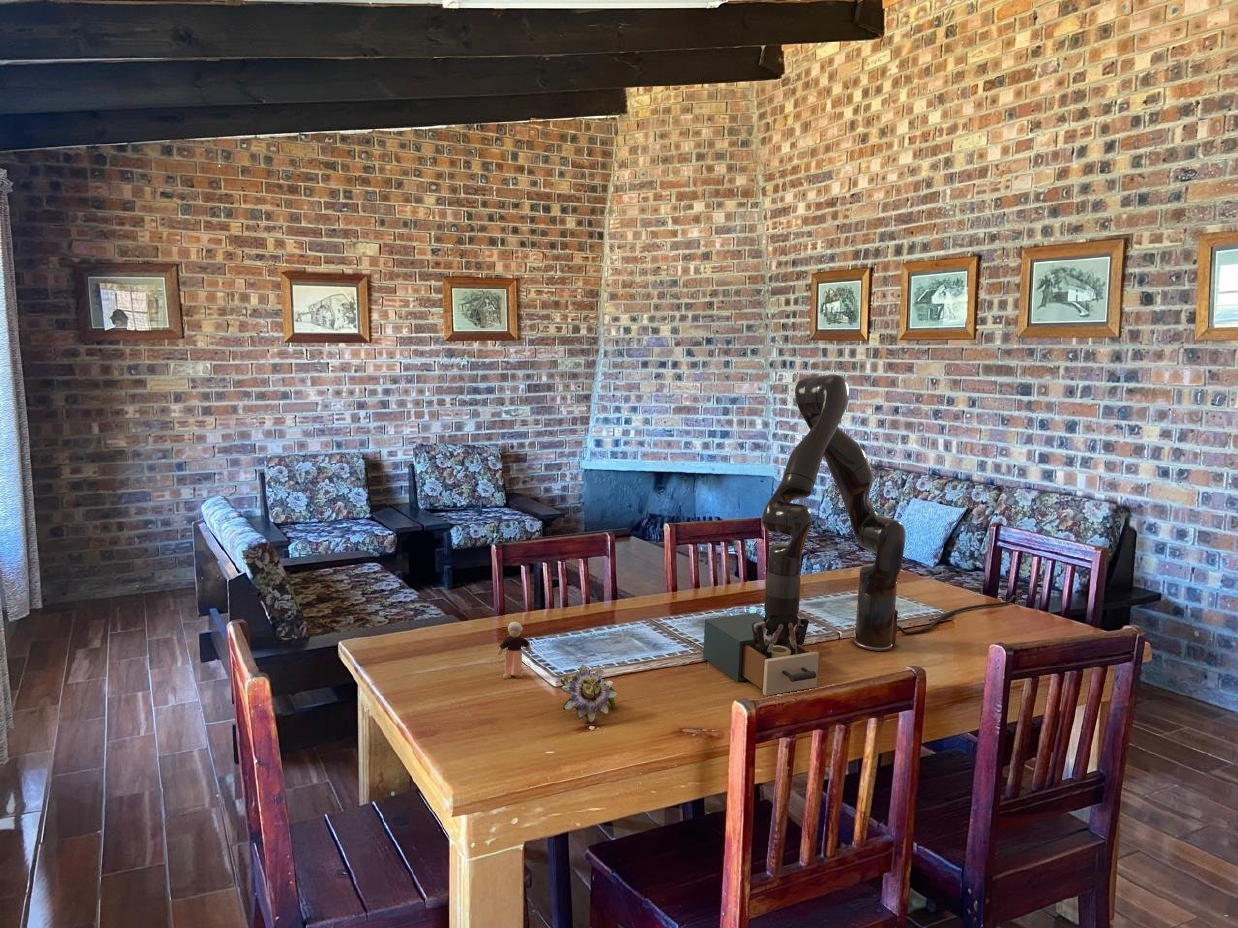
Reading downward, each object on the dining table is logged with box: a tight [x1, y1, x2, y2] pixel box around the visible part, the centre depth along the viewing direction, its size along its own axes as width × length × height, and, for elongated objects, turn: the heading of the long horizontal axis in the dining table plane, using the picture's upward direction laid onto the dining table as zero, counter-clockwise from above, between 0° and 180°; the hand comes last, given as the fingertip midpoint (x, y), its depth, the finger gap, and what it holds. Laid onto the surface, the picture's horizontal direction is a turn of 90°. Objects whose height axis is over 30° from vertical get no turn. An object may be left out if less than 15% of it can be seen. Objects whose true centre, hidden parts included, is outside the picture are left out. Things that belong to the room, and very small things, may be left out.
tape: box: [771, 645, 791, 658], centre depth 195 cm, size 5×5×4 cm
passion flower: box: [559, 663, 618, 723], centre depth 179 cm, size 11×11×12 cm
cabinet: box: [702, 612, 785, 683], centre depth 206 cm, size 16×15×10 cm
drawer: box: [741, 638, 820, 697], centre depth 195 cm, size 19×13×8 cm
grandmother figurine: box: [496, 620, 533, 680], centre depth 196 cm, size 8×4×13 cm, turn 117°
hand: (777, 664), depth 195 cm, fingers closed on tape, 5 cm apart
